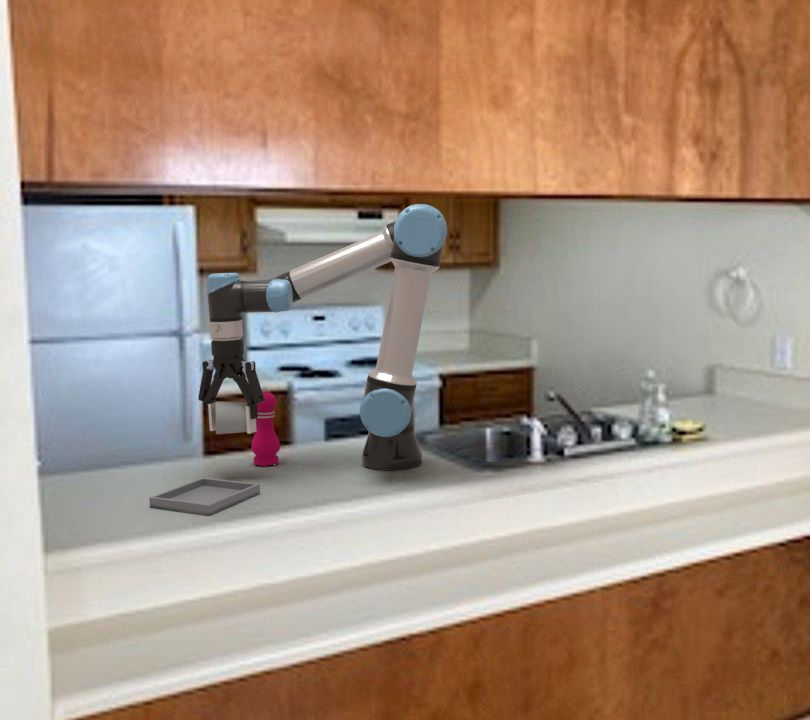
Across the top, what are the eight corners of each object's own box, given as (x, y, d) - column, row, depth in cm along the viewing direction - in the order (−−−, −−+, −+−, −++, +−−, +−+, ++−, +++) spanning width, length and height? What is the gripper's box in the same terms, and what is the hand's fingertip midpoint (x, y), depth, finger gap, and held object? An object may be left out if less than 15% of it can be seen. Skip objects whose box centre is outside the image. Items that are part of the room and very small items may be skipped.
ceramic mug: (251, 434, 215) (249, 401, 215) (216, 436, 214) (214, 404, 213) (249, 426, 226) (247, 395, 225) (215, 429, 224) (213, 398, 223)
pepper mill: (285, 464, 233) (283, 386, 231) (259, 468, 229) (257, 388, 227) (272, 459, 239) (270, 383, 237) (247, 463, 235) (244, 385, 233)
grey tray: (260, 493, 206) (259, 484, 206) (209, 515, 190) (209, 505, 190) (203, 486, 213) (202, 477, 213) (149, 507, 197) (149, 497, 197)
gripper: (178, 340, 217) (185, 431, 220) (257, 341, 207) (263, 437, 210) (198, 336, 224) (204, 425, 227) (276, 337, 214) (281, 430, 217)
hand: (233, 431), depth 219 cm, fingers closed on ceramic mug, 10 cm apart
